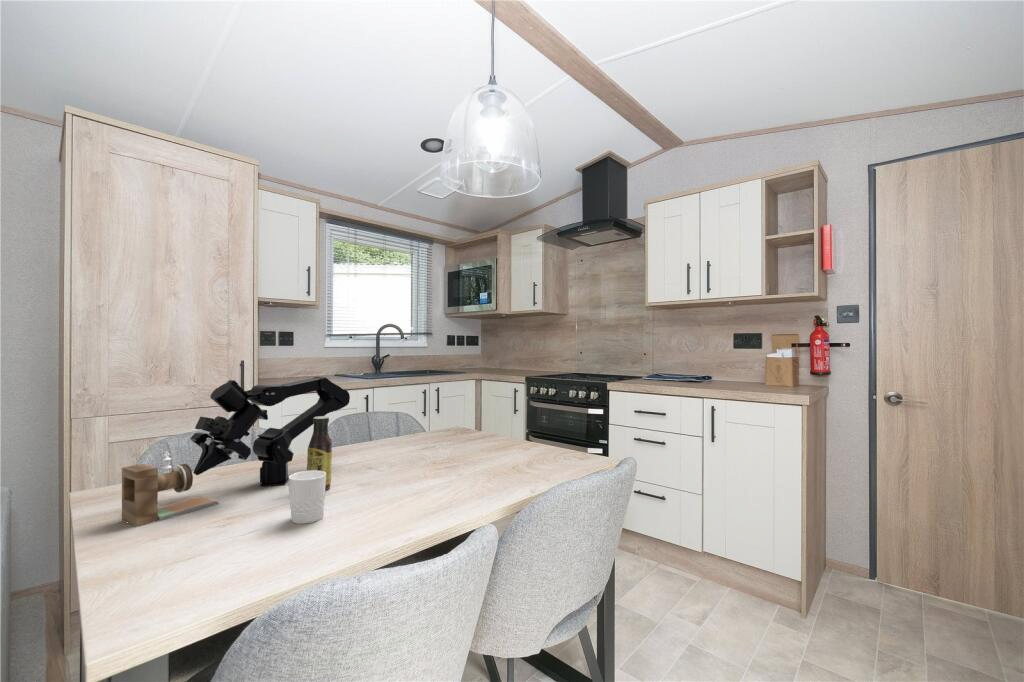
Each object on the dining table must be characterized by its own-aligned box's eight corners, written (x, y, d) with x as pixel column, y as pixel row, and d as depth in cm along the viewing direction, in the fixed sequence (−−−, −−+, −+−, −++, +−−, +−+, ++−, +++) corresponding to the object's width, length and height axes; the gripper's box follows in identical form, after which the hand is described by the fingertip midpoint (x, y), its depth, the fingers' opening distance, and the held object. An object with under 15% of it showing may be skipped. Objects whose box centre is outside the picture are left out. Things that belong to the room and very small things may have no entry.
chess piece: (181, 485, 132) (182, 449, 132) (167, 490, 127) (167, 454, 127) (165, 484, 133) (165, 449, 133) (150, 490, 128) (150, 453, 128)
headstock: (142, 515, 110) (142, 463, 110) (157, 520, 106) (157, 467, 106) (121, 520, 106) (121, 467, 106) (136, 526, 103) (136, 471, 103)
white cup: (289, 527, 102) (289, 481, 102) (287, 515, 109) (287, 472, 109) (327, 521, 106) (327, 477, 106) (324, 510, 113) (324, 468, 113)
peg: (178, 488, 116) (178, 462, 116) (192, 492, 113) (192, 465, 113) (138, 498, 109) (138, 470, 109) (151, 503, 105) (152, 474, 105)
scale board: (200, 498, 121) (200, 495, 121) (218, 503, 117) (218, 500, 117) (142, 514, 110) (142, 511, 110) (159, 520, 106) (159, 517, 106)
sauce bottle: (301, 491, 127) (301, 418, 127) (318, 484, 133) (318, 414, 133) (319, 494, 125) (320, 419, 125) (336, 487, 130) (337, 416, 130)
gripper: (198, 402, 126) (150, 451, 116) (239, 406, 117) (190, 460, 107) (228, 427, 132) (184, 475, 123) (269, 433, 123) (225, 486, 114)
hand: (195, 474), depth 116 cm, fingers closed
